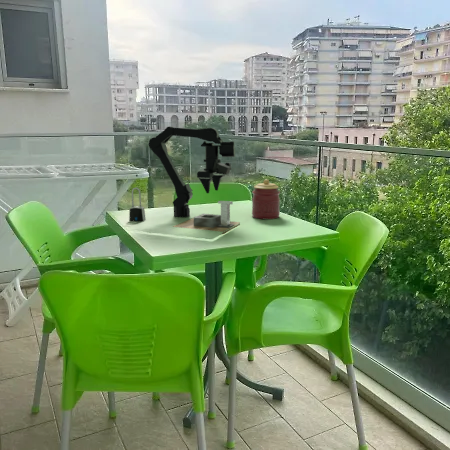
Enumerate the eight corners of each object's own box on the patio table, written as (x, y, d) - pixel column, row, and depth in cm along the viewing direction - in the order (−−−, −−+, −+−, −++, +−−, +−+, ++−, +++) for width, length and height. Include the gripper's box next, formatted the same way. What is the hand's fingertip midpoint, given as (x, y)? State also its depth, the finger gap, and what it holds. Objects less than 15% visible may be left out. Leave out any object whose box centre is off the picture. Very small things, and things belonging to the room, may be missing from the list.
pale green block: (217, 225, 172) (217, 201, 170) (220, 223, 175) (220, 200, 172) (230, 226, 170) (230, 202, 168) (233, 225, 172) (233, 201, 170)
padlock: (128, 221, 187) (126, 188, 183) (131, 219, 191) (129, 186, 187) (143, 221, 186) (141, 188, 183) (145, 219, 190) (144, 186, 187)
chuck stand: (172, 228, 172) (172, 218, 171) (192, 220, 188) (192, 210, 187) (223, 234, 163) (223, 222, 162) (240, 224, 179) (240, 214, 178)
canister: (279, 214, 201) (280, 177, 197) (280, 219, 188) (281, 181, 184) (252, 213, 202) (252, 177, 198) (251, 219, 190) (251, 180, 186)
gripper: (219, 158, 173) (220, 195, 177) (236, 156, 190) (236, 190, 193) (196, 158, 178) (196, 194, 181) (214, 155, 194) (214, 188, 198)
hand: (212, 191), depth 188 cm, fingers open, 9 cm apart
